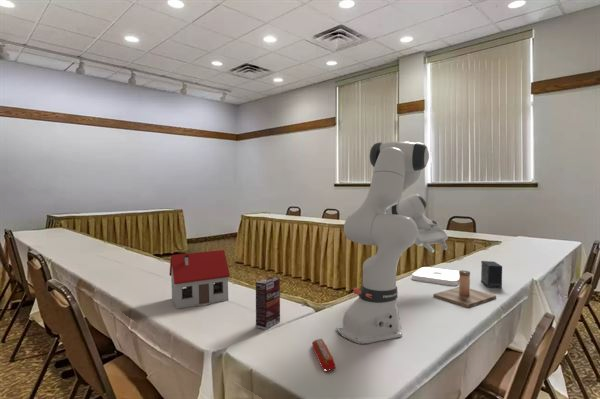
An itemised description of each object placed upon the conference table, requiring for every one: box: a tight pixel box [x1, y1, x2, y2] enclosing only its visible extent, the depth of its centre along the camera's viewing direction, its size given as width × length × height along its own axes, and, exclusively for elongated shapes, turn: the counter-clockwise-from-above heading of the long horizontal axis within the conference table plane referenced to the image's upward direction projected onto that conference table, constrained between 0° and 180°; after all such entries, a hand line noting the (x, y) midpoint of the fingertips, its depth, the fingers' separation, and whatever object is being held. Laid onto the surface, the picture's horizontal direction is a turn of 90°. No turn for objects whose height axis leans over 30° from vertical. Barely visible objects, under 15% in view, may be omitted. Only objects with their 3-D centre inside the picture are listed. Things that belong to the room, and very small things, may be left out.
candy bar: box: [312, 338, 336, 371], centre depth 96 cm, size 16×4×3 cm, turn 10°
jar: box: [458, 269, 471, 296], centre depth 145 cm, size 4×4×10 cm
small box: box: [480, 260, 503, 289], centre depth 163 cm, size 11×6×10 cm, turn 168°
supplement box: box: [255, 276, 281, 331], centre depth 120 cm, size 9×5×16 cm, turn 148°
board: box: [433, 286, 497, 308], centre depth 145 cm, size 20×16×1 cm
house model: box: [168, 249, 231, 310], centre depth 148 cm, size 25×20×21 cm
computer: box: [411, 266, 460, 286], centre depth 177 cm, size 22×22×3 cm
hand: (439, 250), depth 155 cm, fingers open, 8 cm apart
